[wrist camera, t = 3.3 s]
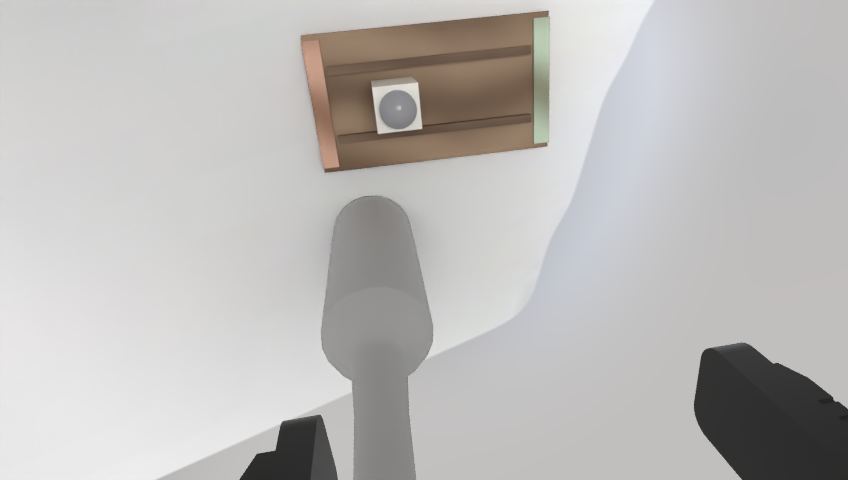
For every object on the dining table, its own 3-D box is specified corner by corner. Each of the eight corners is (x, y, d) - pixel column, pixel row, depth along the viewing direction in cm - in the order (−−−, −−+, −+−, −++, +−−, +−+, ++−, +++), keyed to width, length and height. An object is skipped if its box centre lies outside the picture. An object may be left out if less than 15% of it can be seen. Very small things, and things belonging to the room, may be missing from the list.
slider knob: (370, 80, 36) (372, 88, 31) (411, 76, 36) (419, 83, 31) (376, 121, 37) (378, 136, 32) (415, 117, 37) (423, 130, 32)
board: (302, 35, 36) (299, 35, 34) (542, 11, 37) (551, 10, 35) (326, 168, 40) (324, 174, 38) (542, 143, 41) (549, 147, 39)
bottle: (358, 278, 44) (350, 625, 18) (319, 217, 41) (246, 523, 15) (423, 245, 43) (511, 555, 18) (388, 182, 41) (432, 436, 15)
